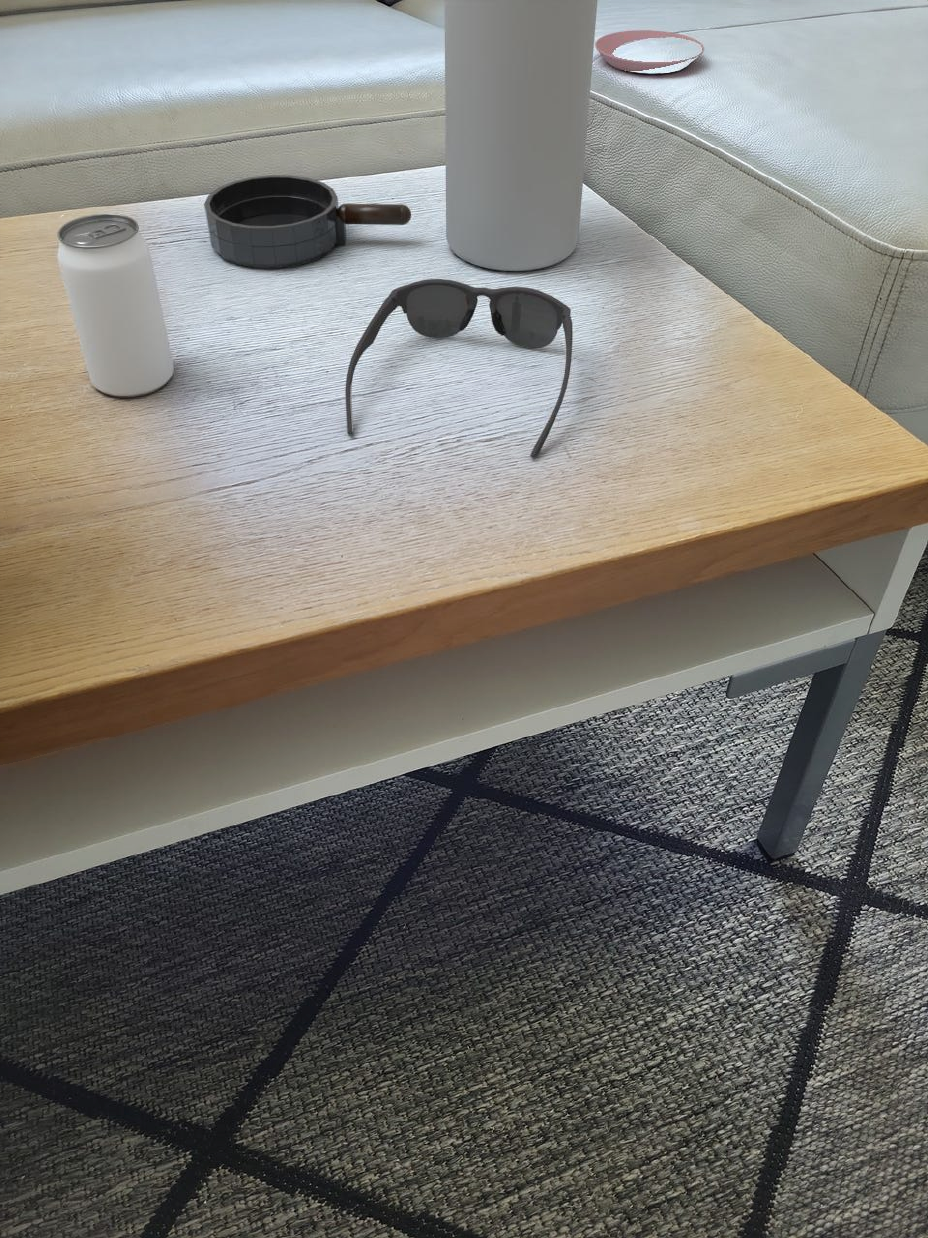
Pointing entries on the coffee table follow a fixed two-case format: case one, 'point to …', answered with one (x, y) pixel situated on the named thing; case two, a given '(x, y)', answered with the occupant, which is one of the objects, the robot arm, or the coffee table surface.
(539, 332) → the sunglasses
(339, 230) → the pan handle
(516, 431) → the coffee table surface
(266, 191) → the pan
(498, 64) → the cylinder vase
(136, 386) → the can
